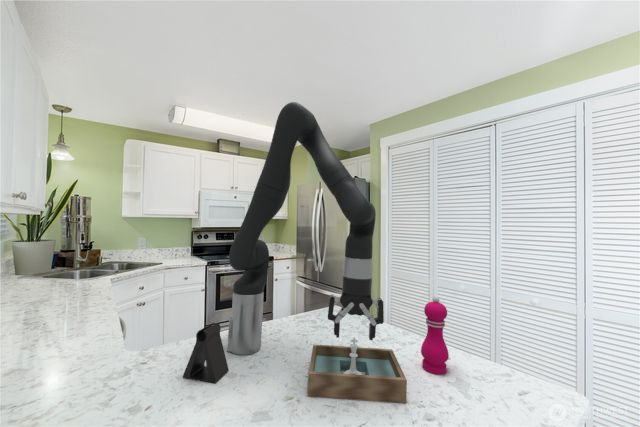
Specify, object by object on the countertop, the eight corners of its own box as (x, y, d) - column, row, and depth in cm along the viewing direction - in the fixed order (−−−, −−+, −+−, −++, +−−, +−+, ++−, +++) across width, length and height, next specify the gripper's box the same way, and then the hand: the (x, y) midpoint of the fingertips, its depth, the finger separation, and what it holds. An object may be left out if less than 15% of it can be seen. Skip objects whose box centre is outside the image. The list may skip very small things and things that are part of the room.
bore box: (307, 396, 64) (308, 373, 65) (312, 362, 80) (313, 344, 81) (406, 403, 63) (406, 380, 64) (391, 367, 79) (392, 349, 79)
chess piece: (361, 384, 70) (363, 342, 71) (342, 381, 71) (343, 340, 72) (362, 374, 75) (364, 335, 76) (344, 371, 76) (345, 333, 77)
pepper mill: (447, 365, 82) (448, 295, 83) (449, 378, 75) (451, 301, 76) (420, 360, 84) (422, 292, 85) (420, 372, 77) (422, 297, 78)
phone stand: (182, 378, 70) (185, 328, 70) (197, 366, 75) (200, 320, 76) (215, 384, 68) (218, 332, 68) (228, 371, 74) (231, 324, 74)
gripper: (330, 275, 71) (326, 341, 71) (387, 279, 70) (384, 346, 70) (330, 270, 79) (327, 330, 78) (382, 274, 78) (379, 334, 77)
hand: (354, 337), depth 74 cm, fingers open, 8 cm apart
